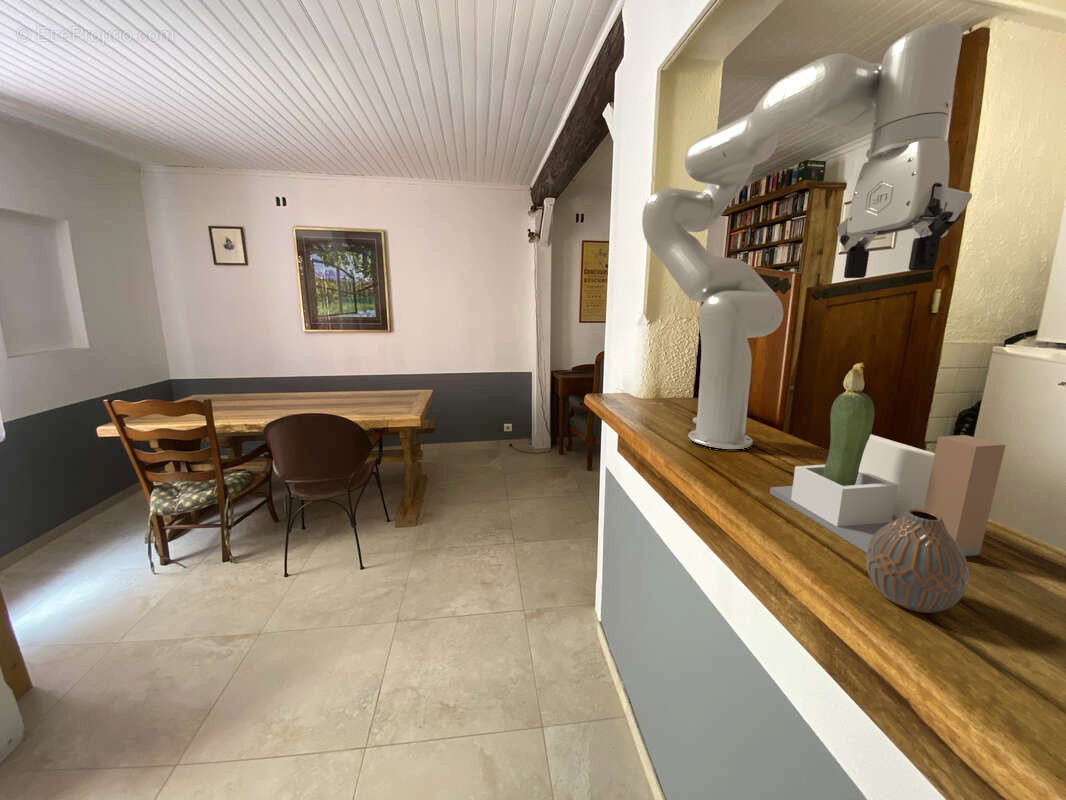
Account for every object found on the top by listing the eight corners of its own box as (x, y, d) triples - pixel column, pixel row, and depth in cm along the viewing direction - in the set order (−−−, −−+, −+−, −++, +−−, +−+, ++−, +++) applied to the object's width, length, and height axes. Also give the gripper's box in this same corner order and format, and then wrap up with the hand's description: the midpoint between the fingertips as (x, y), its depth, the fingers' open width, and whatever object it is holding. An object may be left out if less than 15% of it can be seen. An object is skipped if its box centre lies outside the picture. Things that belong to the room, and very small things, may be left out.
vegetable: (821, 499, 56) (841, 359, 52) (860, 509, 53) (884, 361, 49) (814, 510, 53) (835, 362, 49) (855, 521, 50) (880, 364, 46)
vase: (925, 632, 34) (944, 540, 32) (844, 582, 41) (857, 503, 39) (979, 616, 36) (1000, 527, 34) (893, 570, 42) (907, 494, 41)
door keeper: (769, 493, 61) (779, 411, 58) (840, 488, 62) (852, 407, 60) (884, 564, 43) (905, 450, 41) (979, 554, 45) (1005, 444, 42)
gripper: (826, 165, 62) (812, 280, 65) (955, 108, 45) (927, 267, 48) (870, 166, 62) (854, 280, 66) (1012, 110, 46) (980, 266, 49)
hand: (885, 274), depth 57 cm, fingers open, 9 cm apart
